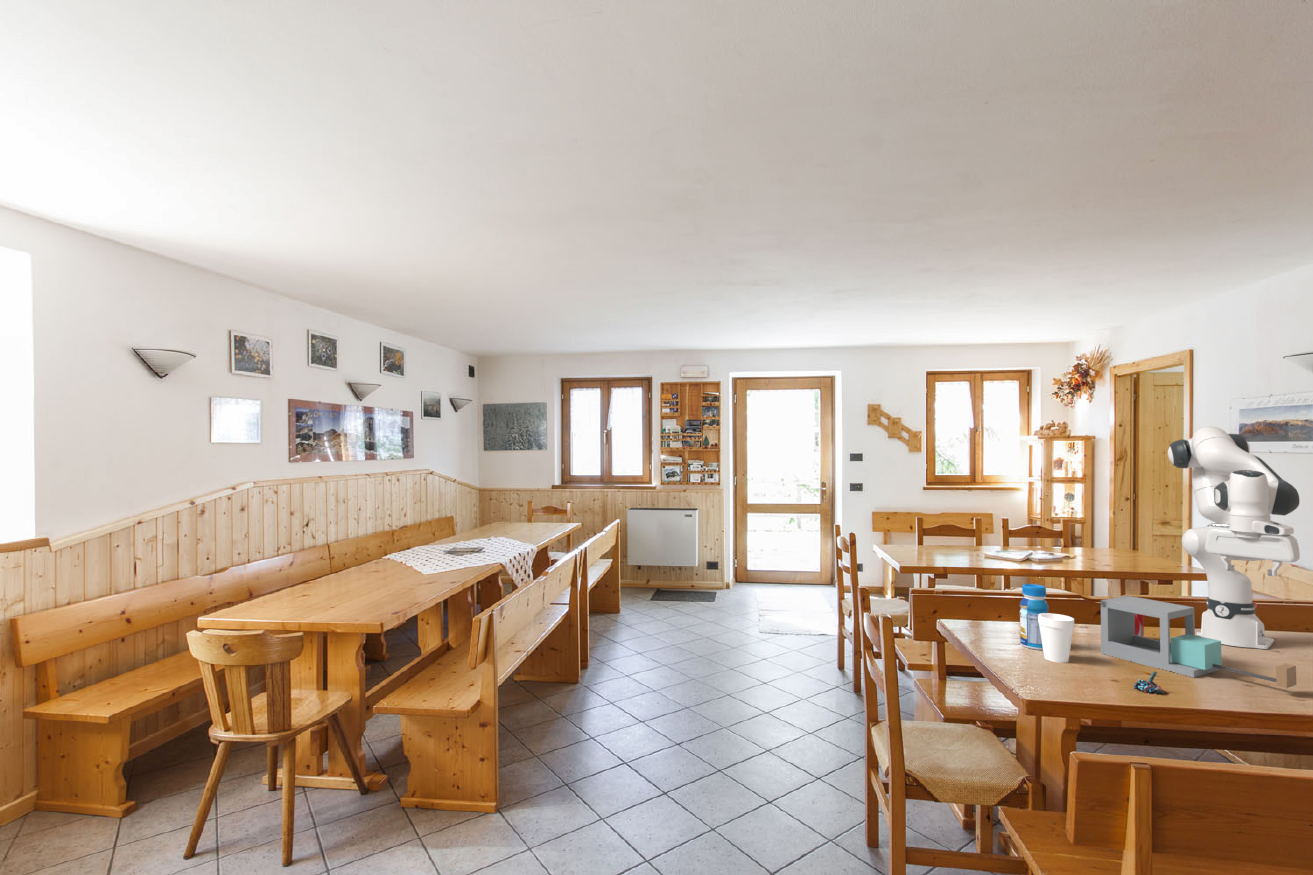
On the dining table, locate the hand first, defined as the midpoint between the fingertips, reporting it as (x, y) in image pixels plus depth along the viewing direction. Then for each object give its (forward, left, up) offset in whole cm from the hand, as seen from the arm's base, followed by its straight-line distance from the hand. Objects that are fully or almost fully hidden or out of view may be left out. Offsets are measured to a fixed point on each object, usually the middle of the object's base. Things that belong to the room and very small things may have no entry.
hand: (1250, 573), depth 181 cm
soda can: (-6, -34, -29) cm, 45 cm away
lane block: (+12, 0, -27) cm, 29 cm away
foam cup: (+39, -33, -29) cm, 59 cm away
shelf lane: (+12, -18, -29) cm, 36 cm away
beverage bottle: (+32, -44, -29) cm, 62 cm away
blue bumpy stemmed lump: (+43, -6, -30) cm, 53 cm away
